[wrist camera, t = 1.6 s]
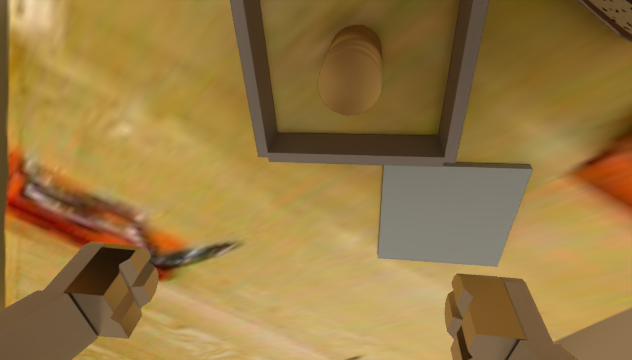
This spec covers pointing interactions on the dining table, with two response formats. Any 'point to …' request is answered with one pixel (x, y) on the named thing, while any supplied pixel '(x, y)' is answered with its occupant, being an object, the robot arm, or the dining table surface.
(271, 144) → the frame
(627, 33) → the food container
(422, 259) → the mat
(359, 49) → the peg
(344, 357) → the dining table surface
